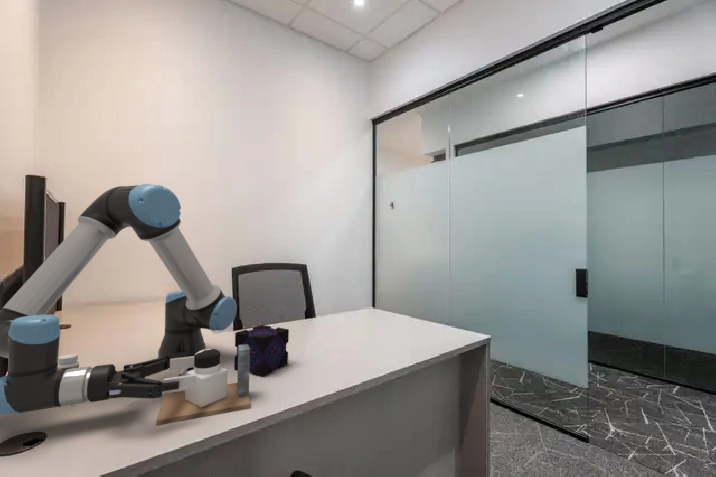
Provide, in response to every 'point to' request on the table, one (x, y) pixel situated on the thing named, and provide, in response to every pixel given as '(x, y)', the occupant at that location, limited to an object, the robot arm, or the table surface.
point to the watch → (185, 371)
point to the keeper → (236, 399)
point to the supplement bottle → (68, 362)
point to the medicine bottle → (207, 379)
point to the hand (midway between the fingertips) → (197, 370)
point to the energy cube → (264, 349)
